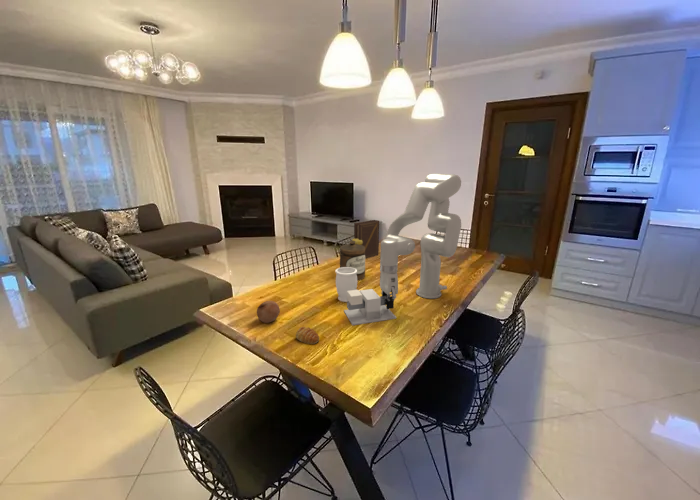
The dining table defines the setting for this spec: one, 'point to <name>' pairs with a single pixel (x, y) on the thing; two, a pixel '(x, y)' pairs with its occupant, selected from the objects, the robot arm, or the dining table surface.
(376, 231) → the book
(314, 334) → the pastry
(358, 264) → the wooden container
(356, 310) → the bearing block
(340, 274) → the jar
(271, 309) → the onion
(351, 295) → the block
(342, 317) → the dining table surface
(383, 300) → the shaft
